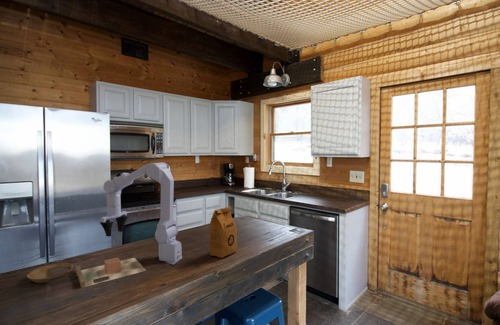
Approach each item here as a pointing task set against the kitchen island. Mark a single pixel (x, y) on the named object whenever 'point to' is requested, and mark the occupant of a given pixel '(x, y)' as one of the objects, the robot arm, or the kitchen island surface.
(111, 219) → the robot arm
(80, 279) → the box
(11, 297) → the kitchen island surface
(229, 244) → the coffee package
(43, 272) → the plant saucer
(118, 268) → the rust block
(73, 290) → the kitchen island surface
